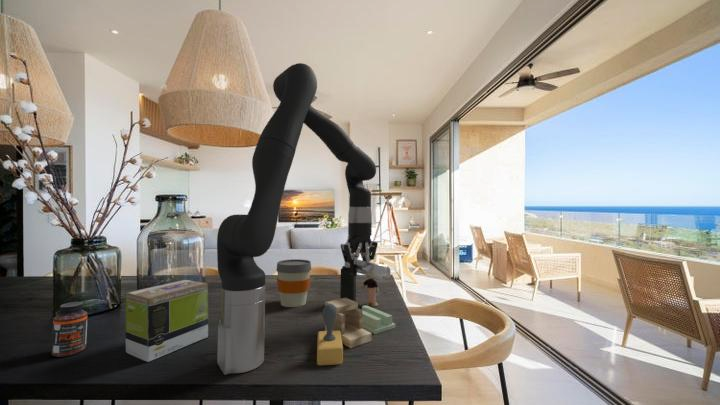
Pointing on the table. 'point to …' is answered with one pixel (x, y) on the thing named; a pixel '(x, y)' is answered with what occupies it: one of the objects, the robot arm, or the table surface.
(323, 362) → the rubber stamp
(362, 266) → the axle
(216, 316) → the table surface
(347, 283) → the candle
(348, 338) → the beige block
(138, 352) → the tea box
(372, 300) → the grandmother figurine
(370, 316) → the cradle
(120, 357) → the table surface
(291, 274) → the reusable coffee cup
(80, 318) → the supplement bottle
